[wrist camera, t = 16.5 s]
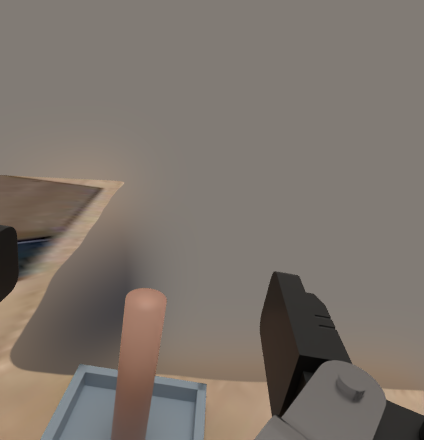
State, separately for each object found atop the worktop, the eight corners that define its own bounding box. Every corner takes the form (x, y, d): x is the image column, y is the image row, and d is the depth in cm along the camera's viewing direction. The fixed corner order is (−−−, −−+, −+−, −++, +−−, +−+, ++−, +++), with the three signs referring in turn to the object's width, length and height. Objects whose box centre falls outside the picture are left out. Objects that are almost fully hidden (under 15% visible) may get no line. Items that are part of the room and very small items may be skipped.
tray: (202, 402, 41) (206, 384, 40) (194, 533, 29) (199, 511, 28) (78, 383, 40) (79, 364, 39) (17, 508, 28) (16, 485, 27)
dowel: (148, 427, 36) (169, 291, 30) (140, 459, 33) (163, 315, 27) (116, 422, 36) (131, 285, 30) (105, 454, 32) (120, 308, 27)
